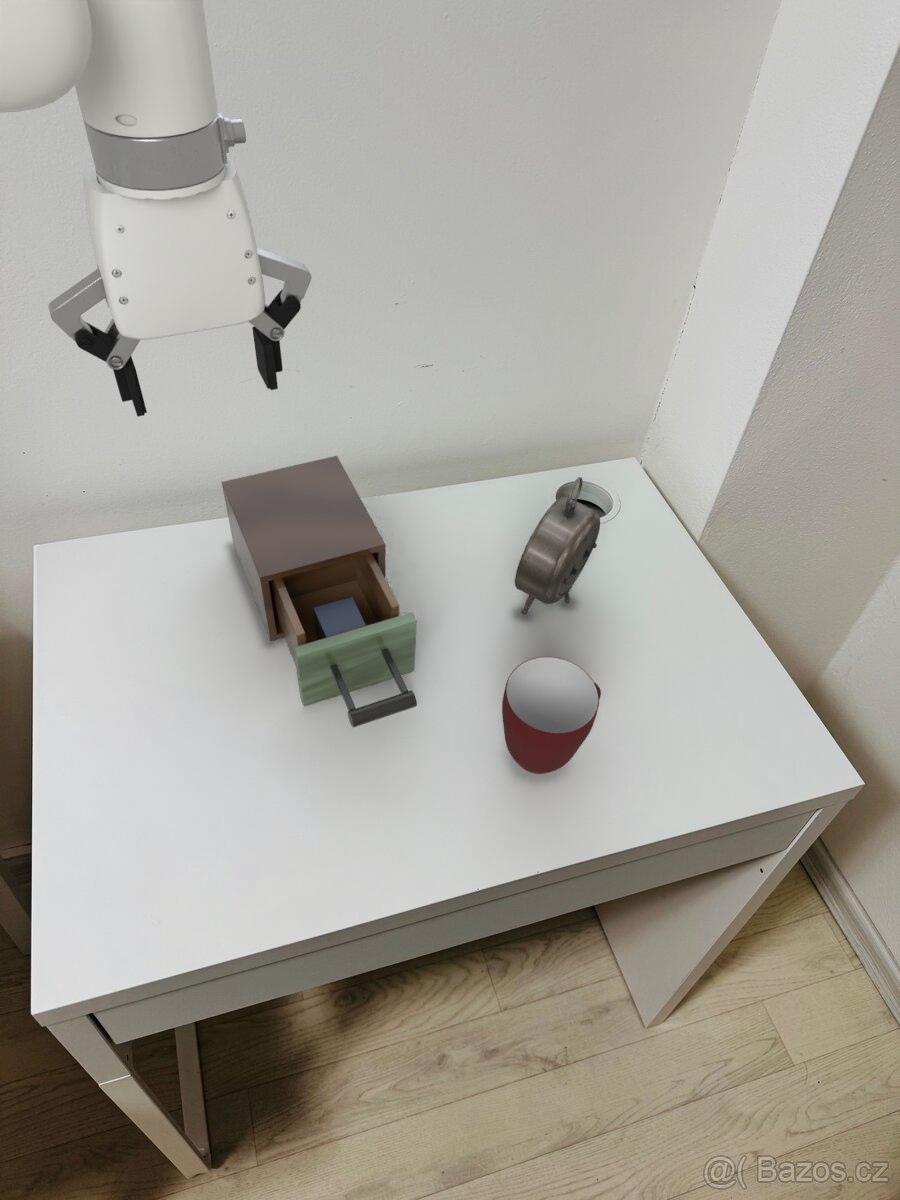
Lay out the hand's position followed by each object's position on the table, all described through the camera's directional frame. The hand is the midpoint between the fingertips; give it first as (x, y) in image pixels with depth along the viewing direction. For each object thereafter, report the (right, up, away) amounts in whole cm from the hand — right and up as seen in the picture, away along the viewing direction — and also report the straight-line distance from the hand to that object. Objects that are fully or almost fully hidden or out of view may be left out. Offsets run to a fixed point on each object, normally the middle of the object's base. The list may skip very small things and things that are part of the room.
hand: (204, 392), depth 62 cm
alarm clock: (+29, -15, +30) cm, 44 cm away
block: (+7, -20, +21) cm, 30 cm away
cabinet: (+3, -13, +29) cm, 32 cm away
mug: (+27, -30, +17) cm, 44 cm away
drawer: (+8, -22, +21) cm, 31 cm away
